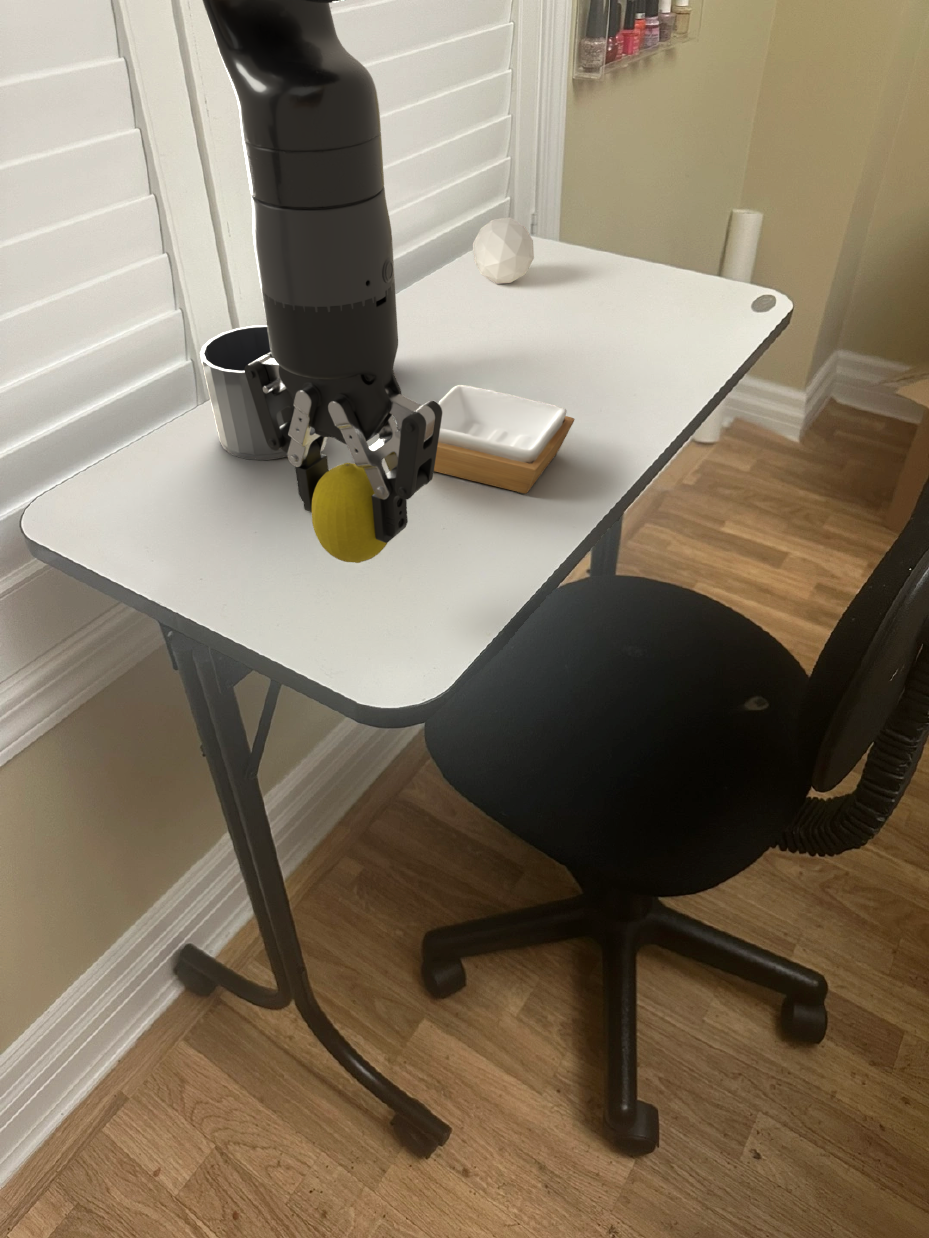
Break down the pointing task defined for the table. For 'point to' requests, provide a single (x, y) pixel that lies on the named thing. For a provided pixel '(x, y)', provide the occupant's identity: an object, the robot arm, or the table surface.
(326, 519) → the lemon
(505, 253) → the ball
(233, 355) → the steel cup
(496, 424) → the soap dish
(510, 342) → the table surface
